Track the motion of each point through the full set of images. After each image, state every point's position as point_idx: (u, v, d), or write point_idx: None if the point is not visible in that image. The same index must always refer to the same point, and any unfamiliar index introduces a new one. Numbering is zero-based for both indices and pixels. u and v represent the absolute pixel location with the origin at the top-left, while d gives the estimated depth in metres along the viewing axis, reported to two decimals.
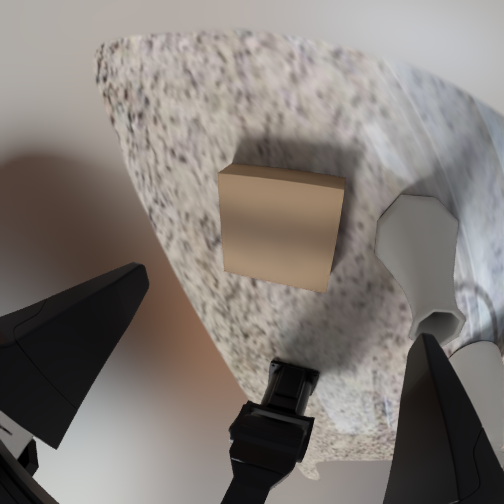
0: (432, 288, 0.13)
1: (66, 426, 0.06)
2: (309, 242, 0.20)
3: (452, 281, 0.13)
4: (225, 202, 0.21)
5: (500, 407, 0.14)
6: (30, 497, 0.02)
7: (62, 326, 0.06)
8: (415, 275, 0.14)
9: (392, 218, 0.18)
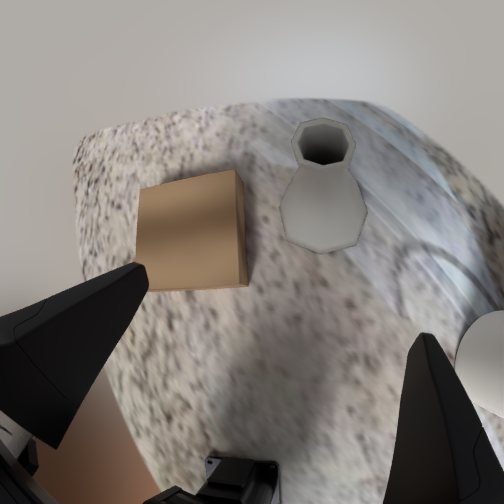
0: (310, 145, 0.15)
1: (66, 427, 0.06)
2: (212, 225, 0.21)
3: (341, 157, 0.16)
4: (142, 211, 0.23)
5: None
6: (30, 497, 0.02)
7: (62, 326, 0.06)
8: None
9: (287, 190, 0.22)
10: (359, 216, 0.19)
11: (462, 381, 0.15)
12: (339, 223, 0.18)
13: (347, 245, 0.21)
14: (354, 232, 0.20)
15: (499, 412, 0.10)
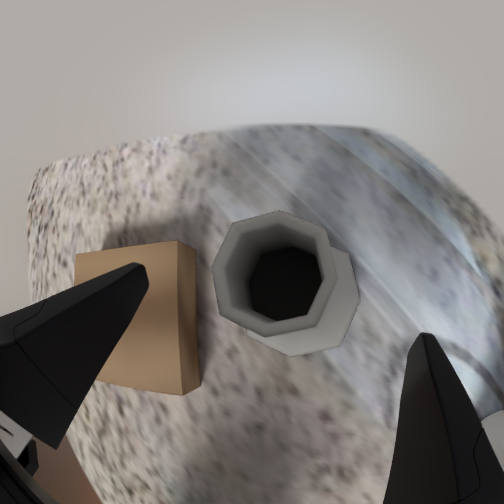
0: (262, 247, 0.09)
1: (66, 426, 0.06)
2: (150, 318, 0.15)
3: None
4: (78, 284, 0.17)
5: None
6: (30, 497, 0.02)
7: (62, 326, 0.06)
8: (251, 269, 0.11)
9: None
10: (345, 315, 0.14)
11: None
12: (314, 337, 0.12)
13: (327, 347, 0.15)
14: (337, 337, 0.14)
15: None
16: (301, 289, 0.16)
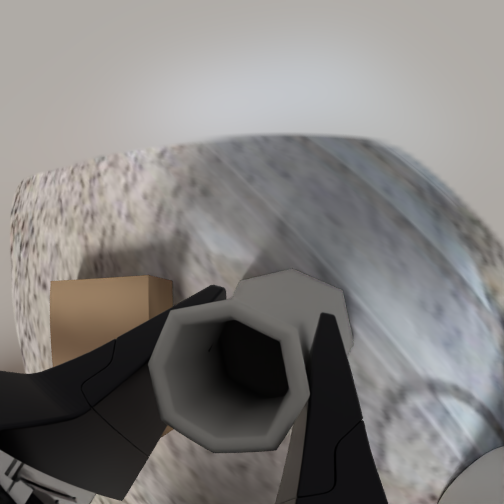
0: (223, 321, 0.07)
1: (133, 475, 0.06)
2: None
3: (298, 324, 0.08)
4: (54, 314, 0.15)
5: None
6: None
7: (145, 375, 0.05)
8: (216, 334, 0.08)
9: None
10: None
11: None
12: None
13: None
14: None
15: None
16: None
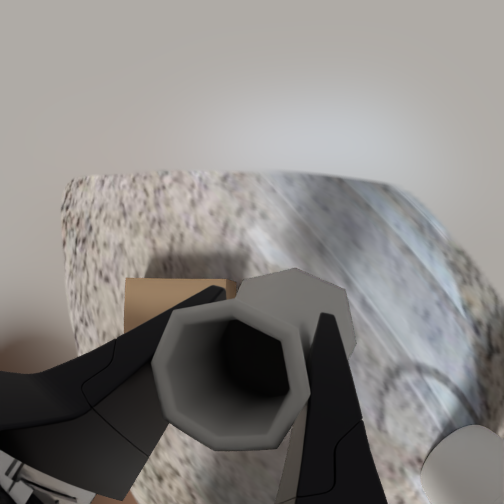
0: None
1: (134, 475, 0.06)
2: None
3: (300, 323, 0.08)
4: (129, 305, 0.21)
5: None
6: None
7: (145, 375, 0.05)
8: (219, 333, 0.08)
9: None
10: None
11: (423, 485, 0.13)
12: None
13: None
14: None
15: None
16: None
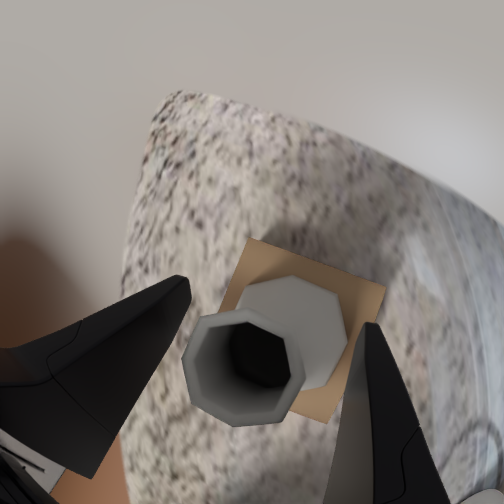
0: None
1: (102, 454, 0.06)
2: None
3: (298, 324, 0.09)
4: (242, 274, 0.17)
5: None
6: (30, 497, 0.02)
7: (104, 353, 0.06)
8: (229, 334, 0.10)
9: None
10: (331, 361, 0.13)
11: None
12: None
13: (313, 387, 0.14)
14: (322, 380, 0.13)
15: None
16: None
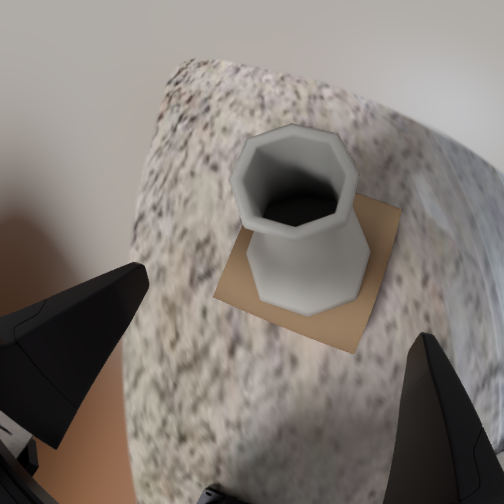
0: (274, 175, 0.09)
1: (66, 427, 0.06)
2: None
3: (329, 187, 0.10)
4: None
5: None
6: (30, 497, 0.02)
7: (62, 326, 0.06)
8: (262, 208, 0.10)
9: None
10: (359, 263, 0.13)
11: None
12: (332, 284, 0.12)
13: (344, 302, 0.15)
14: (353, 287, 0.14)
15: None
16: None
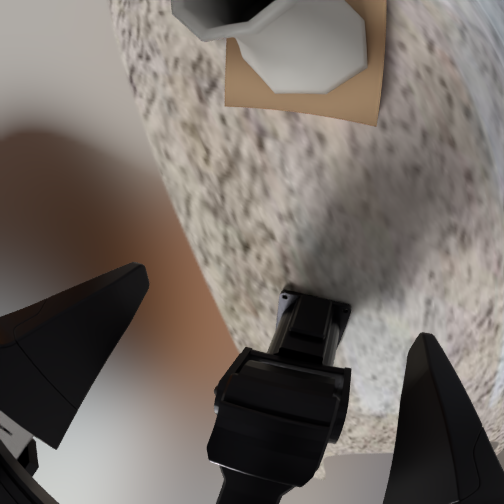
0: None
1: (66, 426, 0.06)
2: None
3: None
4: None
5: None
6: (30, 497, 0.02)
7: (62, 326, 0.06)
8: None
9: None
10: (355, 32, 0.09)
11: None
12: (332, 58, 0.09)
13: (356, 71, 0.11)
14: (358, 55, 0.10)
15: None
16: None
